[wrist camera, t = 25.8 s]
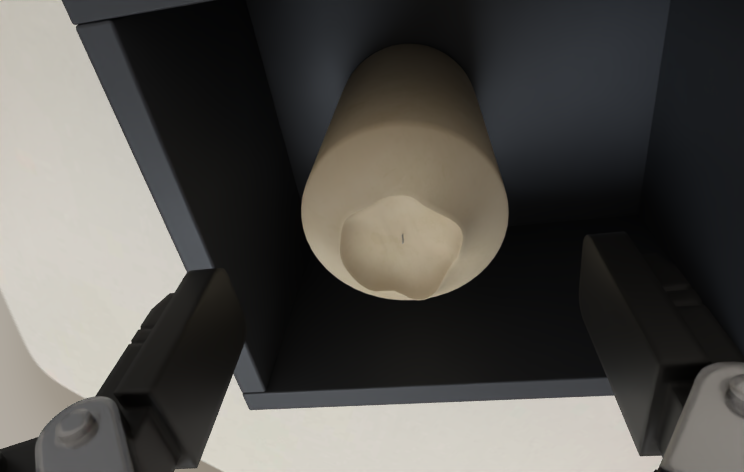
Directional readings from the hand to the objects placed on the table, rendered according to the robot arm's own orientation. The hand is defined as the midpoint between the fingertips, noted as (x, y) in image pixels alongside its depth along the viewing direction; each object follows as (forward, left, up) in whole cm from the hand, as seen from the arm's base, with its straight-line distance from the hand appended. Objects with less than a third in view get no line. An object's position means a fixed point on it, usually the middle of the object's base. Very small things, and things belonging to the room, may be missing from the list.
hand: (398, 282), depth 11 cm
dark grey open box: (+2, -1, -12) cm, 12 cm away
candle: (0, 0, -11) cm, 11 cm away
